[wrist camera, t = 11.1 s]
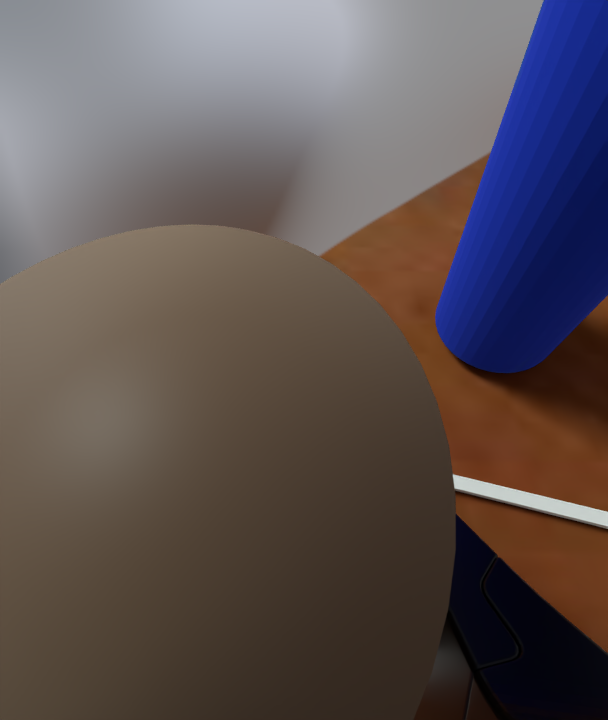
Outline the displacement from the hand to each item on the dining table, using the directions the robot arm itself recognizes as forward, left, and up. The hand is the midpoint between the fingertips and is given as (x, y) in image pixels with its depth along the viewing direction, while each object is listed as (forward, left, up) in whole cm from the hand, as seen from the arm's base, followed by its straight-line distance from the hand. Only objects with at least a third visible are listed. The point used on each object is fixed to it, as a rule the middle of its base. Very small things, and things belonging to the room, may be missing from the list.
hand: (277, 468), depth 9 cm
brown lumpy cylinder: (-1, 0, -7) cm, 7 cm away
